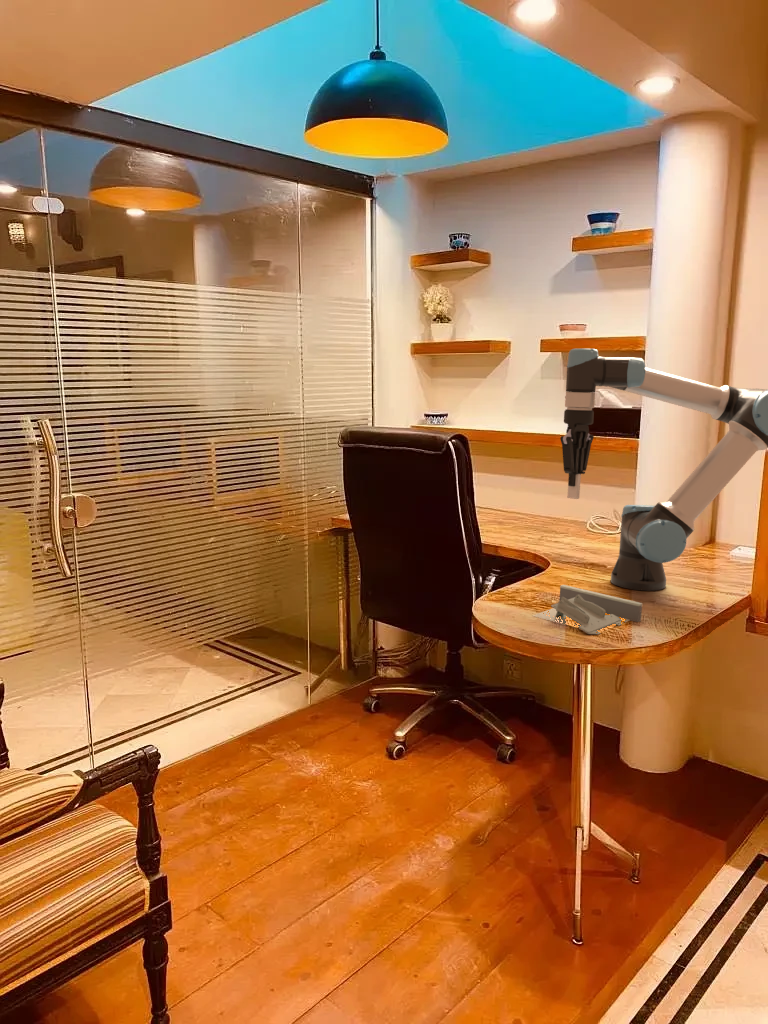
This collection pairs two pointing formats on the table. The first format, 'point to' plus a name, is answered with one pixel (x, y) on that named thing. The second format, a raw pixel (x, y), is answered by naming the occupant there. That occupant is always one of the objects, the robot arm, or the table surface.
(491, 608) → the table surface
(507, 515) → the table surface
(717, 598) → the table surface
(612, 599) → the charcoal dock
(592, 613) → the metal bracket
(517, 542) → the table surface
